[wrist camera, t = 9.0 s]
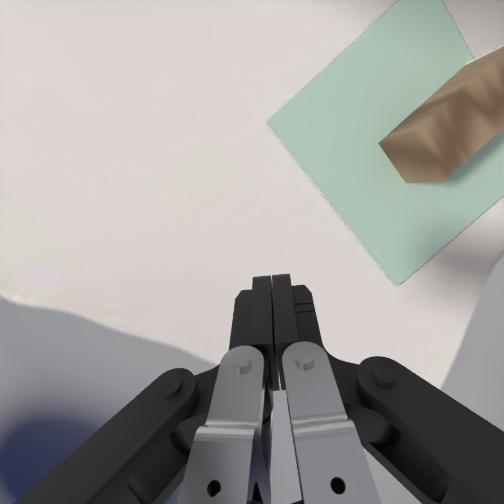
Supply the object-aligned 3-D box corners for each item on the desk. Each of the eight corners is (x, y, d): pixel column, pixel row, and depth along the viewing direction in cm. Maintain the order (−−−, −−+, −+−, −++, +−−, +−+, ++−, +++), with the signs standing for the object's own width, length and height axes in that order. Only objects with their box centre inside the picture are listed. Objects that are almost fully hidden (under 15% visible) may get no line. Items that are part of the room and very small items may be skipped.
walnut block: (411, 134, 24) (522, 35, 23) (378, 143, 29) (469, 61, 28) (442, 181, 25) (548, 88, 25) (405, 182, 30) (493, 105, 30)
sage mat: (266, 122, 28) (267, 121, 27) (423, -23, 27) (427, -27, 26) (395, 285, 33) (397, 286, 32) (530, 168, 32) (535, 168, 31)
